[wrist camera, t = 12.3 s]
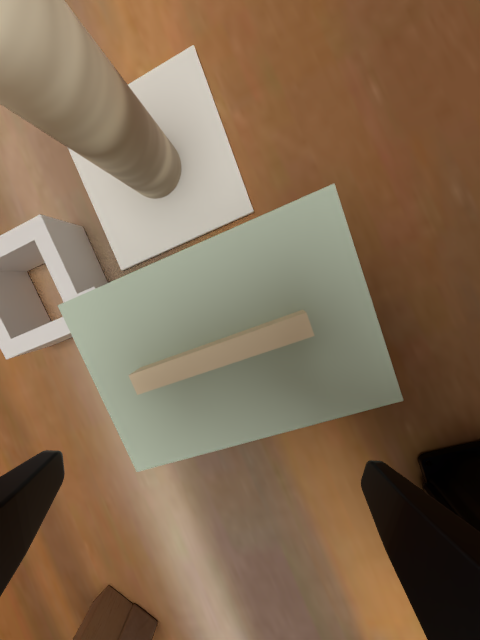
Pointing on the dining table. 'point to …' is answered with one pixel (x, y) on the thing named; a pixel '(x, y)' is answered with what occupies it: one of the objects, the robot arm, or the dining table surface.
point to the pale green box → (210, 329)
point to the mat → (196, 170)
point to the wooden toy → (115, 620)
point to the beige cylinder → (80, 96)
